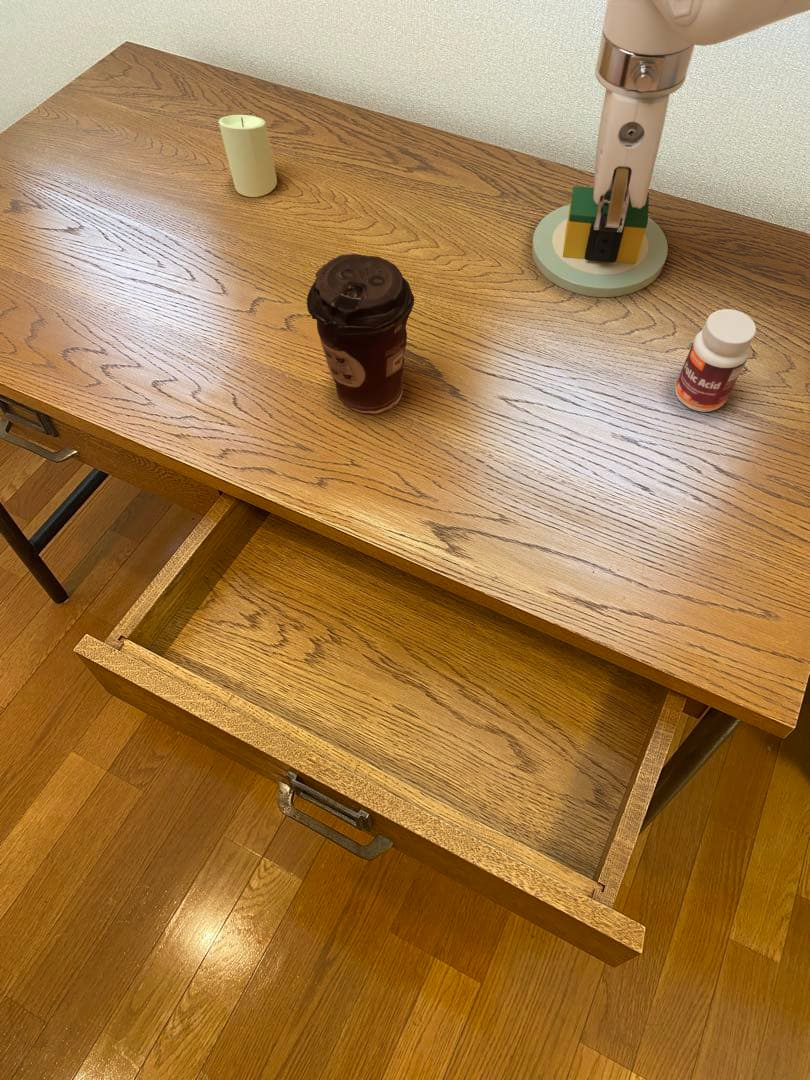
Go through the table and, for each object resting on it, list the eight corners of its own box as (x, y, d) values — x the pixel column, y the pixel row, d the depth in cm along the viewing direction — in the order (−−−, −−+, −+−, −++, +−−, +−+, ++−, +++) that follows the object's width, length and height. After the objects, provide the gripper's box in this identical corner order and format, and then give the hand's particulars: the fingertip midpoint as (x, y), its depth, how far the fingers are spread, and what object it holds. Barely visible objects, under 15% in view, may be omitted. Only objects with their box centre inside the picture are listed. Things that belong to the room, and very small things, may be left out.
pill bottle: (663, 395, 69) (690, 327, 62) (691, 366, 71) (721, 297, 63) (709, 422, 67) (742, 355, 60) (736, 391, 69) (772, 323, 62)
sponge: (637, 235, 79) (649, 192, 74) (635, 264, 76) (648, 221, 72) (565, 228, 80) (573, 185, 75) (562, 256, 77) (570, 214, 73)
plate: (666, 216, 82) (669, 206, 81) (663, 304, 75) (667, 294, 74) (538, 204, 84) (540, 194, 83) (524, 289, 77) (526, 279, 76)
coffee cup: (350, 439, 68) (334, 332, 56) (307, 382, 71) (284, 271, 60) (431, 398, 70) (430, 287, 59) (385, 345, 73) (376, 231, 62)
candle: (247, 168, 89) (231, 98, 82) (284, 176, 88) (271, 106, 81) (227, 192, 87) (208, 123, 80) (265, 201, 86) (250, 131, 79)
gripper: (690, 117, 57) (635, 302, 73) (690, 8, 66) (640, 195, 81) (592, 110, 58) (558, 294, 74) (603, 3, 67) (571, 189, 82)
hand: (601, 240), depth 77 cm, fingers closed on sponge, 4 cm apart
